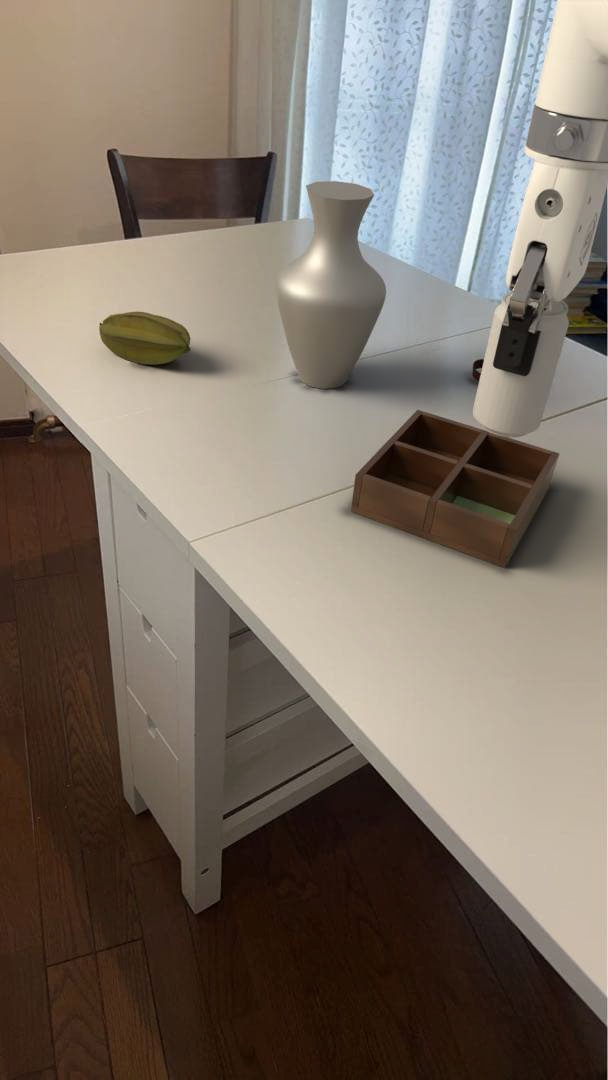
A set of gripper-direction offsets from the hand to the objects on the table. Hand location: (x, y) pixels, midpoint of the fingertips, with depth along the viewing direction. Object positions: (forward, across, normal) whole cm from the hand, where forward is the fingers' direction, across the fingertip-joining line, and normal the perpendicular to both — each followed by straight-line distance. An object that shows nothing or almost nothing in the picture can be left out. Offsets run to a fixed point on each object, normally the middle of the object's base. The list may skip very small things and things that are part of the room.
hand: (522, 355), depth 72 cm
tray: (+21, +6, +4) cm, 22 cm away
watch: (+21, +38, +9) cm, 44 cm away
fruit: (+21, +14, +54) cm, 59 cm away
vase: (+21, +24, +30) cm, 44 cm away
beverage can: (+7, 0, 0) cm, 7 cm away
